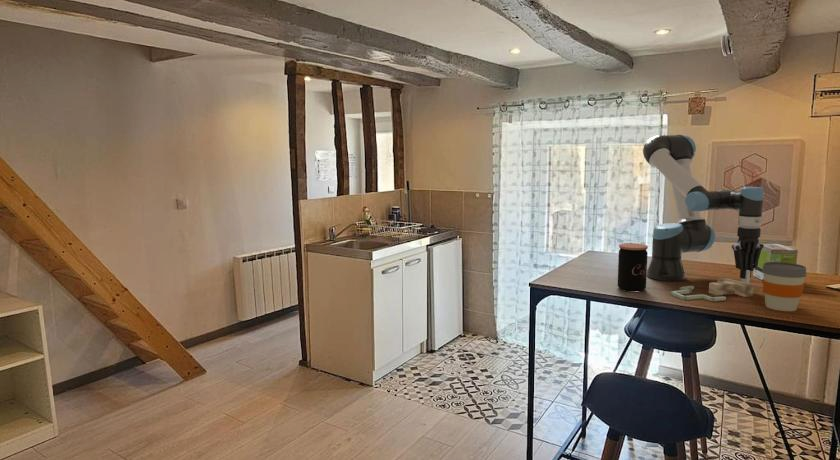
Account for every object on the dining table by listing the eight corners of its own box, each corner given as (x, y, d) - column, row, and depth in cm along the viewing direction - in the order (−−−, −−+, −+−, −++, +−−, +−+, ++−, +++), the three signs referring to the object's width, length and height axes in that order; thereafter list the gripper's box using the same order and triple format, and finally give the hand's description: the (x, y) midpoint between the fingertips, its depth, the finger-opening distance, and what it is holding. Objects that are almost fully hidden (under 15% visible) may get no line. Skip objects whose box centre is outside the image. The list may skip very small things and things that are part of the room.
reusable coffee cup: (764, 311, 175) (768, 268, 173) (755, 301, 186) (758, 260, 184) (808, 314, 170) (812, 270, 168) (796, 303, 182) (800, 262, 180)
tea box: (795, 285, 207) (798, 249, 204) (768, 284, 209) (770, 249, 206) (777, 276, 221) (780, 243, 219) (752, 275, 223) (754, 242, 221)
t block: (725, 287, 206) (726, 277, 205) (752, 295, 193) (753, 285, 193) (700, 289, 203) (700, 279, 203) (726, 298, 191) (726, 288, 190)
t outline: (692, 288, 205) (692, 285, 204) (725, 300, 188) (726, 297, 188) (661, 291, 202) (661, 288, 201) (693, 303, 185) (693, 300, 185)
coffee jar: (633, 294, 199) (635, 248, 196) (611, 288, 208) (613, 244, 206) (651, 290, 204) (653, 246, 201) (629, 284, 213) (631, 242, 210)
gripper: (743, 229, 191) (738, 290, 195) (771, 227, 194) (766, 287, 198) (727, 226, 198) (723, 285, 202) (754, 224, 201) (750, 282, 205)
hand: (744, 286), depth 200 cm, fingers closed
